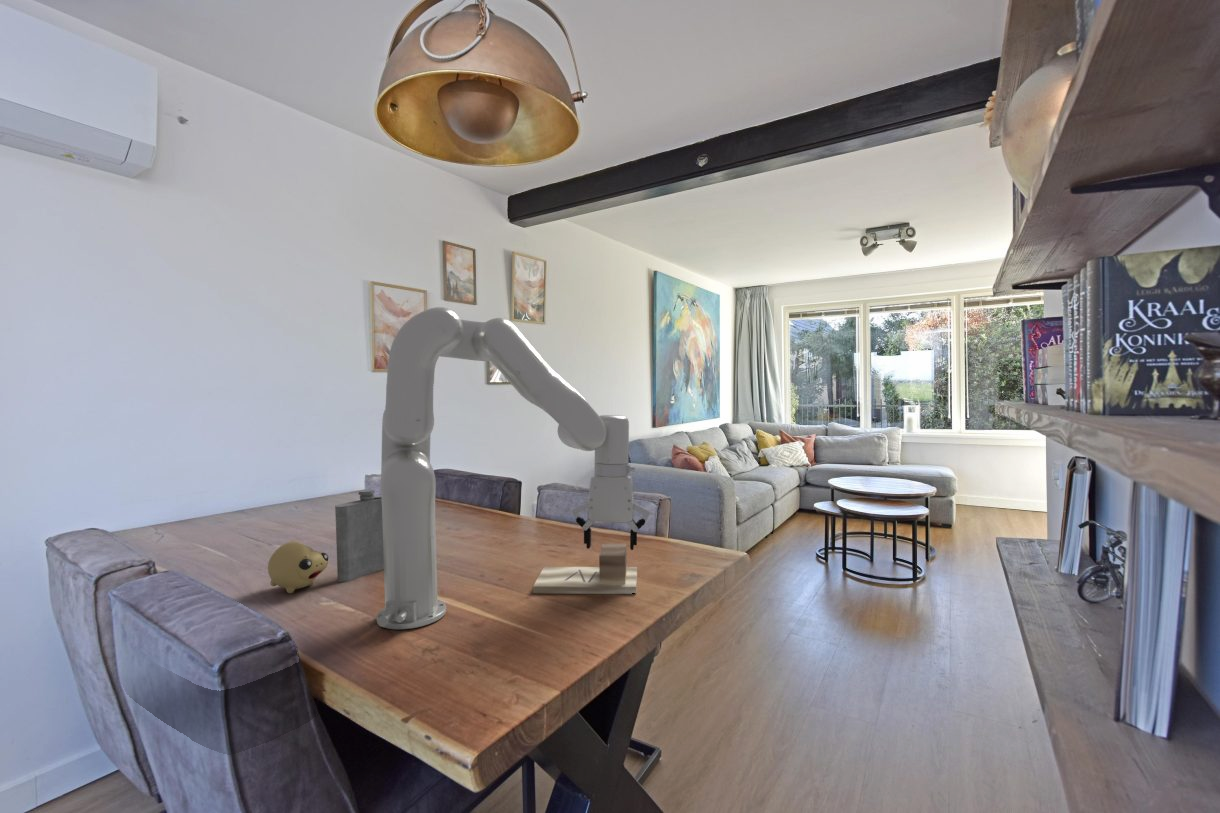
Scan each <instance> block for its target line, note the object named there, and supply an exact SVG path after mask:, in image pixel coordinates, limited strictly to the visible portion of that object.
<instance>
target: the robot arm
mask: <svg viewBox="0 0 1220 813" xmlns="http://www.w3.org/2000/svg"><path fill="white" fill-rule="evenodd" d="M388 353H389V354H388V359H387V372H386V373H387V374H386V376H387V377H386V387H385V388H386V389H385V392H386V393H385V394H386V395H385V406H384V408H385V409H384V411H383V413H382V423H381V424H382V427H381V428H382V429H381V462H380V463H381V464H380V465H381V467H380V469H381V472H380V493H381V494H380V496H381V498H382V525H383V551H384V570H383V575H384V576H383V579H384V580H383V581H384V584H383V585H384V607H382V608H381V609H380V610H379V611H378V613H377V614H376V623H377V625H378V627H380V628H381V627H382V628H385V629H390V630H410V629H416V628H420V627H424V626H427V625H430V624H433V623H435V622H438V621H439V620H440V619H441V618H443V617H444V615H446V613H447V606H446V603H445V602H443V601H442V600H440V599H438V572H437V569H438V567H437V565H438V564H437V534H436V495H437V494H436V489H437V488H436V487H437V486H436V484H437V483H436V475H435V470H434V468H433V466H432V464H431V434H432V432H433V430H434V425H435V417H434V416H435V415H434V386H435V385H434V384H435V371H436V370H435V369H436V365H437V362H438V360H439V358H440V357H441V358H442V357H443V358H452V359H458V360H459V359H461V360H466V361H467V360H468V361H475V362H476V361H478V362H491V363H492V364H493V365H494V367H495V368H496V369H497V370H498V371H499V372H500V373H501V374H502V375H503V377H504V378H505V379H506V380H507V381H508V382H509V384H511V386H513V388H514V390H516V391H517V393H518V394H519V395H520V396H522V397H523V398H524V399H525V400H526V401H527V402H529V403H531V404H533V405H534V406H536V407H538V408H540V409H542V411H543V412H545V413H547V414H548V415H549V416H550V417H551V418H552V419H553V420H554V421H555V422H556V423H557V424H558V425H557V435H558V438H559V440H560V441H561V443H563V444H564V445H565V446H567V447H569V448H573V449H576V450H581V451H584V452H592V451H594V471H593V472H594V474H593V475H591V478H590V481H589V482H590V483H589V488H588V500H587V501H586V502H584V503H582V504H580V505H578V506H575V507H574V508H572V509H571V513H572V515H573V517H574V519H575V522H576V523H577V524H578V525H579V526H580V527H581V529H582V530H583V544H585V545H586V549H587V550H588V549H590V548H591V547H592V528H591V526H593V524H594V523H602V524H607V523H608V524H609V523H610V524H627V525H628V526H629V528H630V532H629V533H630V535H629V537H630V539H629V540H630V541H629V542H630V544H629V546H630V547H629V549H630V550H631V551H634V546H637V545H638V531H639V530H640V529H641V528H642V527H643V526H644V525H645V524H646V522H647V520H648V518H649V517H650V514H651V511H650V510H649V509H647V508H645V507H643V506H641V505H640V504H638V503H636V502H635V497H634V485H633V484H634V482H633V477H632V476H630V475H629V474H630V473H635V472H636V471H635V470H636V466H635V465H631V464H629V442H630V441H629V440H630V439H629V438H630V435H629V434H630V421H629V418H628V417H627V416H625V415H619V414H602V415H599V414H598V413H597V412H596V410H595V409H594V408H593V407H592V406H591V404H590V403H589V402H588V401H587V400H586V399H585V398H584V397H583V395H582V394H580V393H579V391H578V390H576V389H575V388H574V387H573V386H572V385H570V384H569V383H568V382H567V381H566V380H565V379H564V378H563V377H562V376H561V375H560V374H559V373H557V371H555V370H554V369H553V368H552V367H551V366H550V365H549V364H548V363H547V361H546V360H545V359H544V358H543V356H541V354H540V353H539V352H538V351H537V349H535V347H534V346H533V345H532V344H531V342H530V341H529V340H528V339H527V338H526V337H525V336H524V334H523V333H522V332H521V331H520V330H519V328H518V327H517V326H516V325H515V324H514V323H513V322H511V321H510V320H508V319H506V318H504V317H495V318H491V319H489V320H487V321H482V322H481V321H475V320H468V319H467V320H465V319H461V318H460V316H459V315H458V314H457V313H456V312H455V311H454V310H452V309H449V308H447V307H440V306H439V307H432V308H429V309H426V310H423V311H421V312H419V313H417V314H415V315H414V316H412V317H411V318H410V319H408V320H407V321H406V322H405V323H404V324H403V325H401V327H400V328H399V330H398V331H397V333H396V334H395V336H394V339H393V341H392V343H391V345H390V350H389V352H388ZM585 510H587V519H586V520H585V519H584V517H582V515H581V512H583V511H585ZM635 511H636V512H638V513H640V514H641V517H640V518H639V519H638V520H637V521H635V519H634V516H635Z"/></svg>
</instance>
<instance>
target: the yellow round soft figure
mask: <svg viewBox="0 0 1220 813" xmlns="http://www.w3.org/2000/svg"><path fill="white" fill-rule="evenodd" d="M328 564H329V555H328V554H327V553H325V552H322V551H316V550H314V549H313V548H312V547H310V546H308V545H307V544H304V543H302V542H299V541H295V540H291V541H287V542H285V543H283V544H282V545H280V546H279V547H278V548H277V549H276V550H275V551H274V552H273V553H272V555H271V557H269V560H268V564H267V572H268V576H269V578H270V581H269V582H270V583H269V584H270V586H272V587H276V586H278V587H280V588H283V589H286V592H287V594H293V593H294V592H295V590H299V589H302V588H305V587H307V586H308V587H312V585H313V584H314V581H315V580H316V579H317V577H318V576H319V575H320V574H322V573H323V572H324V571H325V569H326V568H327V567H328Z"/></svg>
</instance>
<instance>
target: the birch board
mask: <svg viewBox="0 0 1220 813" xmlns="http://www.w3.org/2000/svg"><path fill="white" fill-rule="evenodd" d="M637 585H638V567H637V566H627V574H626V583H625V584H600V573H599V566H543V568H542V570H541V572H540V573H539V575H538V577H537V579H536V580H535V582H534V583H533V585H532V593H533V594H577V595H578V594H582V595H583V594H585V595H586V594H589V595H590V594H591V595H593V594H595V595H599V594H600V595H602V594H605V595H606V594H607V595H611V594H612V595H633V594H632V593H635V594H634V595H636V594H637V589H636V588H638V587H637Z"/></svg>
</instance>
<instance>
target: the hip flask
mask: <svg viewBox="0 0 1220 813" xmlns="http://www.w3.org/2000/svg"><path fill="white" fill-rule="evenodd" d="M375 492H376V490H375V489H373V488H371V489H370V488H369V489H366V488H365V489H361V490H358V495H359V500H354V501H349V502H345V503H339V504H337V505H336V504H335V538H336V539H335V541H336V565H337V567H336V570H337V573H336V574H337V582H338V581H339V582H338V583H346V582H350V581H353V580H355V579H359V578H361V577H364V576H366V575H367V576H368V575H370V574H373V573H377V572H380V571H384V551H383V525H382V498H381V495H375Z"/></svg>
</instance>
